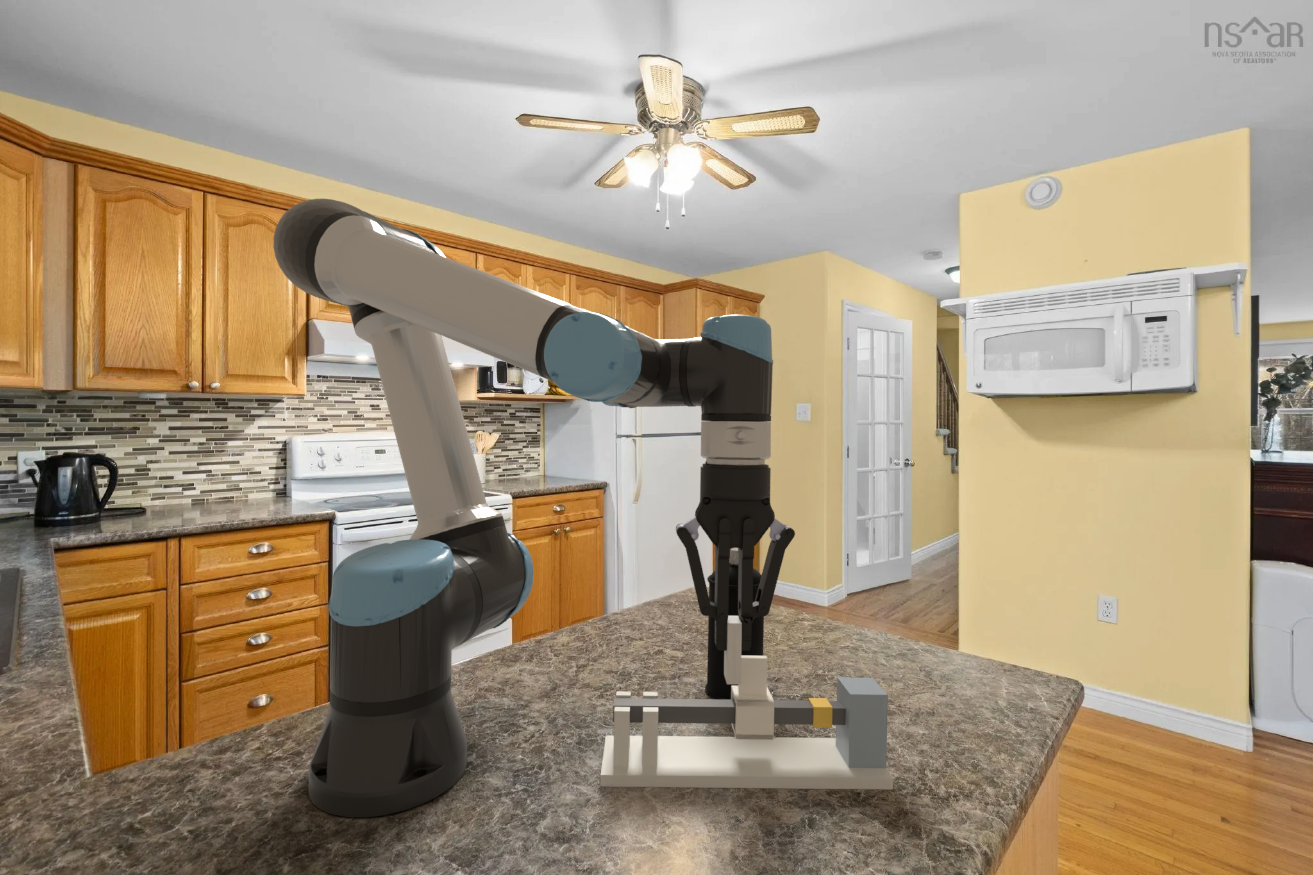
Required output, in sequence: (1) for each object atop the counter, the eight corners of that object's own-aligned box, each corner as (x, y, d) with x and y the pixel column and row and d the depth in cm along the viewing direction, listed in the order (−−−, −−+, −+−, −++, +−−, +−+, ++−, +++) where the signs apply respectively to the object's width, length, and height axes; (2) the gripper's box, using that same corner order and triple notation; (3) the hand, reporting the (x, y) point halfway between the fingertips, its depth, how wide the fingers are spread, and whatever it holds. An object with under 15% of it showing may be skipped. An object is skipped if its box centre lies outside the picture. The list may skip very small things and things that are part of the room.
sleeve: (735, 739, 64) (737, 663, 64) (730, 720, 68) (732, 649, 68) (773, 739, 64) (775, 664, 64) (766, 721, 68) (767, 650, 68)
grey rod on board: (600, 786, 62) (602, 698, 62) (605, 745, 70) (607, 667, 70) (892, 789, 63) (894, 702, 62) (864, 748, 71) (866, 671, 70)
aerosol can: (763, 707, 80) (766, 557, 80) (701, 701, 82) (704, 553, 82) (764, 682, 89) (767, 545, 88) (708, 677, 90) (711, 542, 90)
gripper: (676, 462, 62) (673, 693, 62) (804, 464, 62) (800, 694, 62) (673, 459, 69) (671, 665, 70) (787, 460, 70) (784, 666, 70)
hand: (732, 678), depth 66 cm, fingers closed
